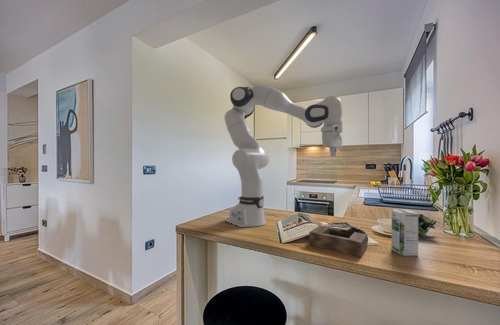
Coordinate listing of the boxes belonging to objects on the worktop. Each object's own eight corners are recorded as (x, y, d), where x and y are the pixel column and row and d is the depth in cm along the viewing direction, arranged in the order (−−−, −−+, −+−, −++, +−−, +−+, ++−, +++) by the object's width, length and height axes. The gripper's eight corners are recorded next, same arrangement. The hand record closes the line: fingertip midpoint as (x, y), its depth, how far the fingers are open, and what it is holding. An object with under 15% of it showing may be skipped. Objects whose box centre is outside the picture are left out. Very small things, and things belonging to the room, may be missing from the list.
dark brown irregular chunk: (320, 237, 92) (320, 224, 92) (327, 233, 97) (326, 221, 97) (365, 248, 80) (365, 233, 80) (371, 243, 84) (370, 229, 84)
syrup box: (390, 249, 78) (390, 209, 78) (407, 249, 78) (407, 209, 78) (401, 256, 72) (400, 212, 72) (419, 256, 72) (419, 212, 72)
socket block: (309, 245, 83) (309, 232, 83) (319, 237, 91) (319, 225, 91) (361, 257, 72) (361, 242, 72) (367, 247, 79) (367, 234, 79)
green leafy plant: (418, 245, 95) (434, 223, 95) (430, 250, 84) (449, 225, 84) (392, 228, 98) (408, 207, 98) (402, 231, 88) (419, 207, 88)
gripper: (333, 132, 119) (333, 157, 119) (319, 127, 103) (319, 156, 103) (345, 131, 115) (345, 157, 115) (333, 126, 99) (333, 156, 99)
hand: (333, 157), depth 109 cm, fingers closed
